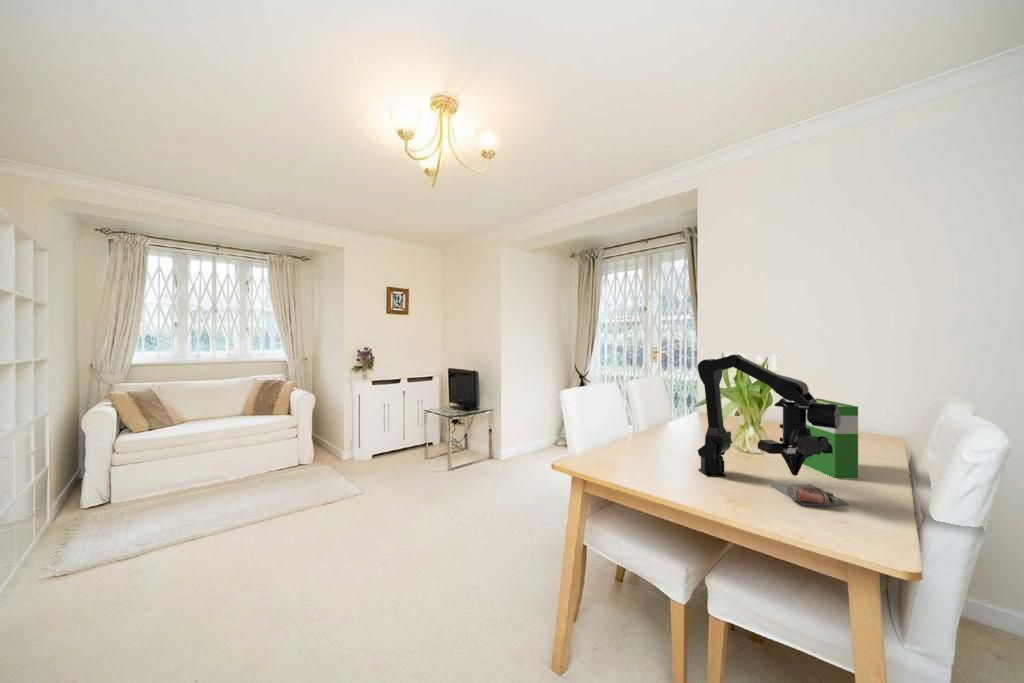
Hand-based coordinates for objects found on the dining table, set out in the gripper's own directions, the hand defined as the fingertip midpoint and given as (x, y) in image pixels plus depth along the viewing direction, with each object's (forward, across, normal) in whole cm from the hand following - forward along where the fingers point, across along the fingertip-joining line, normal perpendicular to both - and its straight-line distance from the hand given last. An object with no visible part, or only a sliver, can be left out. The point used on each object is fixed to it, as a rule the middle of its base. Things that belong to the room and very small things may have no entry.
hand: (794, 475), depth 116 cm
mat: (+6, +4, 0) cm, 7 cm away
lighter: (+4, -4, -4) cm, 6 cm away
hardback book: (+6, +27, +22) cm, 35 cm away
